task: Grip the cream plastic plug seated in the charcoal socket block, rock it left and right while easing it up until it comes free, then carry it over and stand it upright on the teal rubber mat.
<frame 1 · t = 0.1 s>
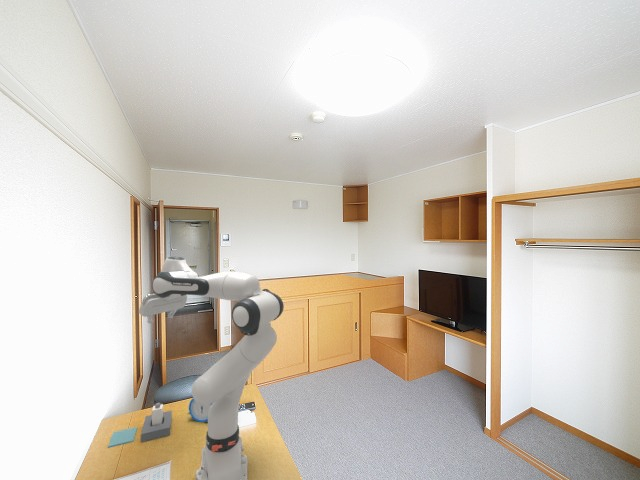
hand: (160, 320, 124), 52 cm above the table, tool tilted 20°, fingers open, 8 cm apart
socket header: (157, 430, 128), on the table
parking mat: (123, 438, 123), on the table
alarm clock: (204, 419, 137), on the table
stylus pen: (196, 407, 147), on the table
plug: (157, 429, 128), resting on socket header
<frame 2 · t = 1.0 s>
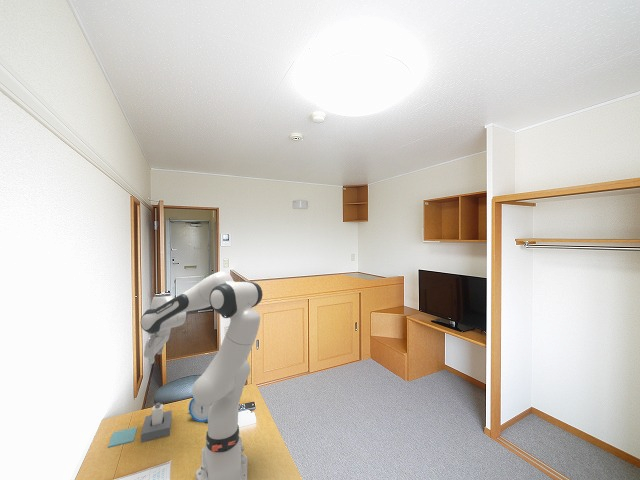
hand: (155, 358, 128), 33 cm above the table, tool pointing down, fingers open, 8 cm apart
nothing on the table moved.
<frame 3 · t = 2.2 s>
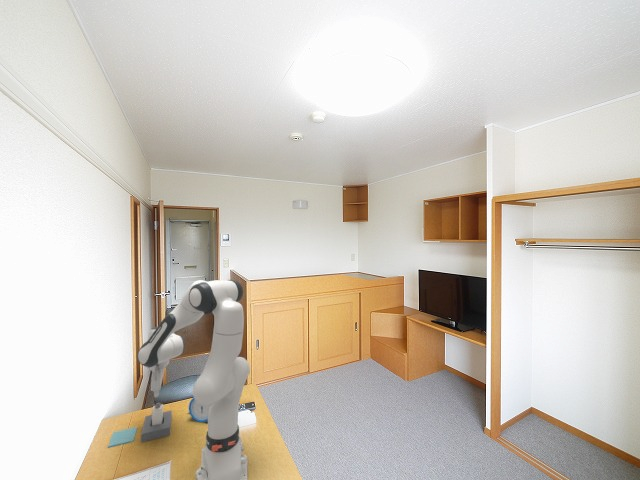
hand: (157, 391, 129), 18 cm above the table, tool pointing down, fingers open, 8 cm apart
nothing on the table moved.
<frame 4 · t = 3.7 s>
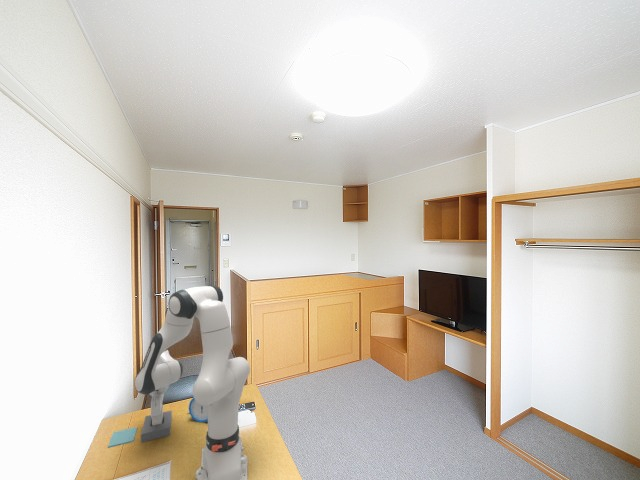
hand: (157, 415, 128), 7 cm above the table, tool pointing down, fingers closed on plug, 4 cm apart
plug: (157, 429, 128), point 1 cm above the table, touching gripper, socket header
everything else where it was.
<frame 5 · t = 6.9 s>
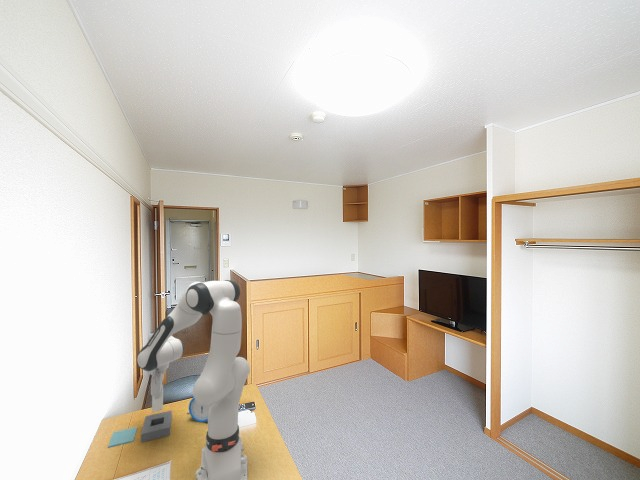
hand: (157, 395, 128), 16 cm above the table, tool pointing down, fingers closed on plug, 4 cm apart
plug: (157, 408, 128), point 10 cm above the table, touching gripper
everything else where it was.
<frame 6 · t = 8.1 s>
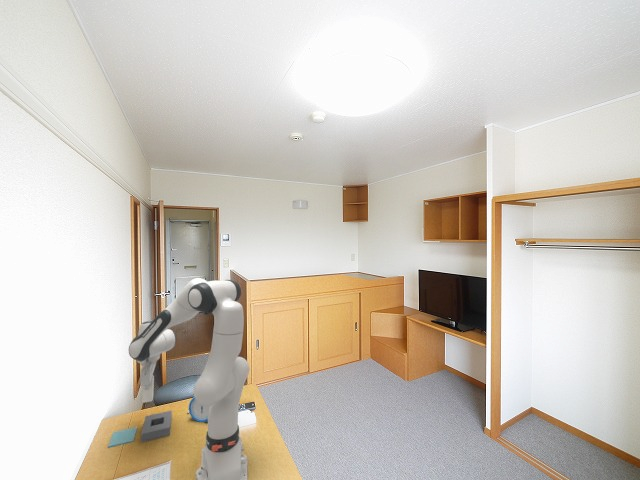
hand: (148, 386, 127), 21 cm above the table, tool pointing down, fingers closed on plug, 4 cm apart
plug: (147, 399, 127), point 15 cm above the table, touching gripper
everything else where it was.
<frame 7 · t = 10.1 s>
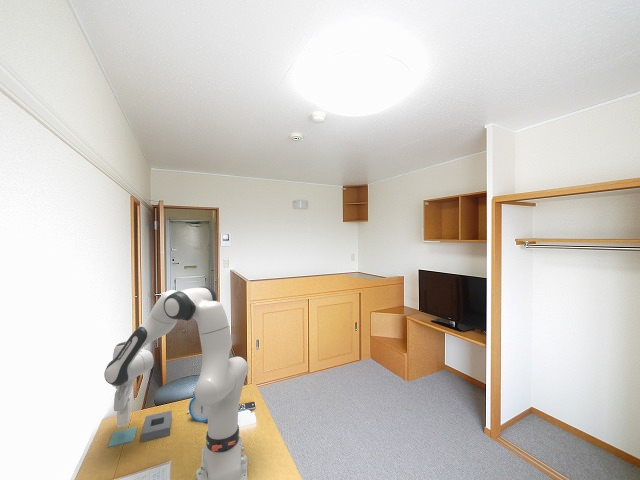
hand: (123, 409, 123), 12 cm above the table, tool pointing down, fingers closed on plug, 4 cm apart
plug: (123, 423, 123), point 6 cm above the table, touching gripper
everything else where it was.
when the fingers open (9 cm above the table, at t = 11.2 s): plug drops 1 cm, resting on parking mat.
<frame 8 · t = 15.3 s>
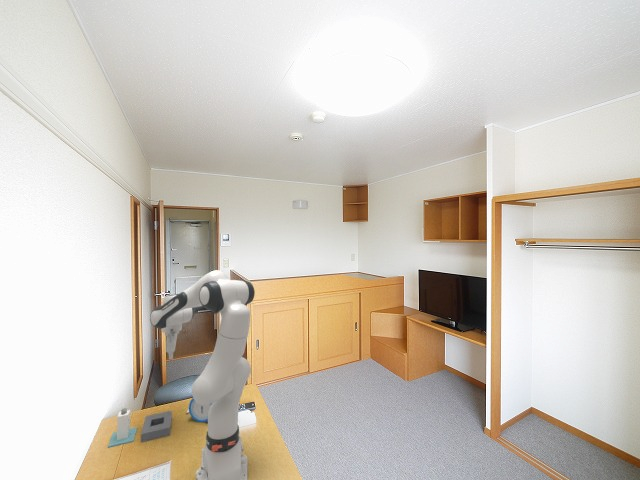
hand: (171, 355, 137), 31 cm above the table, tool pointing down, fingers open, 8 cm apart
plug: (123, 436, 123), point 1 cm above the table, touching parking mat
at the end: plug 0.1 cm off-centre on the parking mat, point 1.0 cm above the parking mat's base; plug tilted 0°; plug touching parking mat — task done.
